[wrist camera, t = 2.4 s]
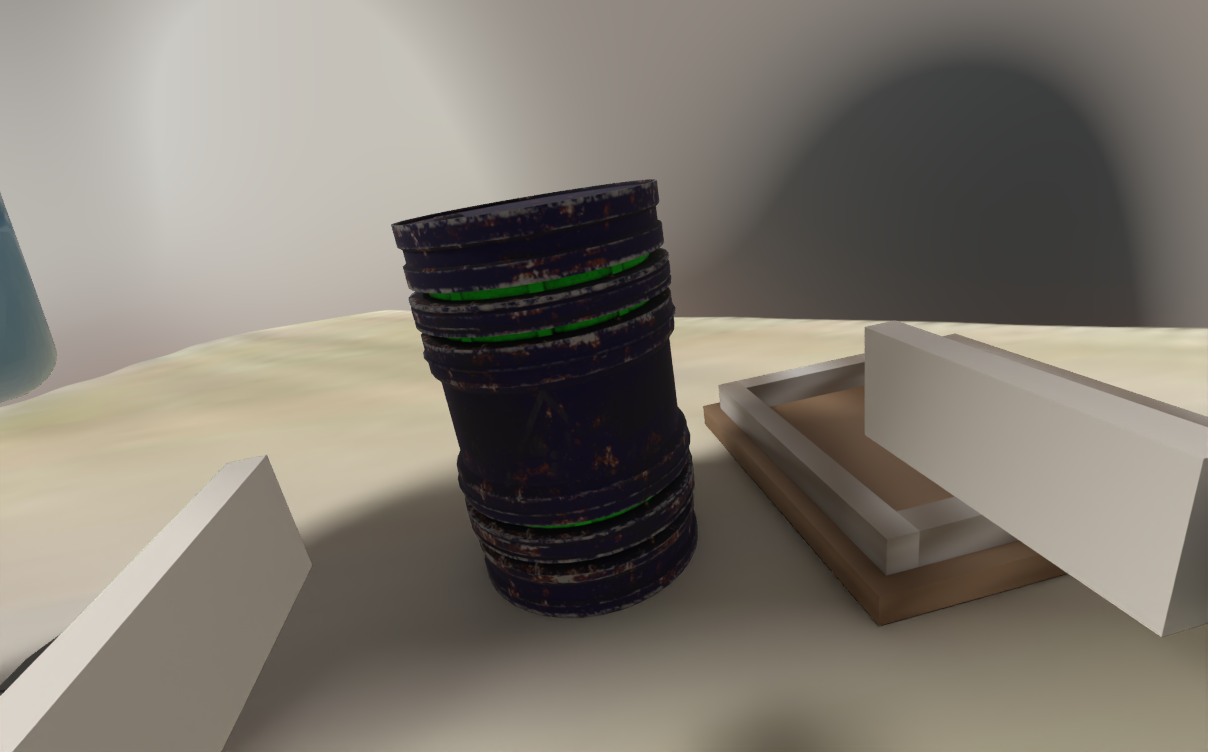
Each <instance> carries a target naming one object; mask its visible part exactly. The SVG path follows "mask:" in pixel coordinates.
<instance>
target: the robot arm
mask: <svg viewBox="0 0 1208 752" xmlns="http://www.w3.org/2000/svg"><path fill="white" fill-rule="evenodd" d="M56 358H57V352H56V348H55V344H54V341H53V338H52V335H51V333H50V330H49V327H48V324H47V321H46V319H45V316H44V313H43V310H42V307H41V304H40V302H39V299H38V296H37V293H36V290H35V288H34V285H33V282H32V279H31V276H30V274H29V271H28V268H27V265H26V263H25V260H24V257H23V254H22V251H21V249H20V246H19V243H18V240H17V237H16V235H15V232H14V229H13V227H12V224H11V221H10V219H9V216H8V213H7V210H6V208H5V205H4V202H3V199H2V196H1V193H0V403H2V402H5V401H8V400H11V399H15V398H18V397H21V396H23V395H26V394H28V393H29V392H30V391H32V390H34V389H35V388H37V387H38V386H39V385H41V384H42V382H44V381H45V380H46V379H47V378H48V377H49V375H50V374H51V372H52V371H53V368H54V367H55V364H56ZM865 435H866V436H867V437H869V438H870V439H872V440H873V441H874V442H876V443H877V444H879V445H880V446H882V447H883V448H885V449H886V450H888V451H889V452H891V453H892V454H894V455H895V456H896V457H898V458H899V459H901V460H902V461H904V462H905V463H907V464H908V465H910V466H911V467H913V468H914V469H916V470H917V471H918V472H920V473H921V474H923V475H924V476H926V477H927V478H929V479H930V480H932V481H933V482H935V483H936V484H938V485H939V486H940V487H942V488H943V489H945V490H946V491H948V492H949V493H951V494H952V495H954V496H955V497H957V498H958V499H959V500H961V501H962V502H964V503H965V504H967V505H968V506H970V507H971V508H973V509H974V510H976V511H977V512H979V513H980V514H981V515H983V516H984V517H986V518H987V519H989V520H990V521H992V522H993V523H995V524H996V525H998V526H999V527H1001V528H1002V529H1003V530H1005V531H1006V532H1008V533H1009V534H1011V535H1012V536H1014V537H1015V538H1017V539H1018V540H1020V541H1021V542H1023V543H1024V544H1025V545H1027V546H1028V547H1030V548H1031V549H1033V550H1034V551H1036V552H1037V553H1039V554H1040V555H1042V556H1043V557H1044V558H1046V559H1047V560H1049V561H1050V562H1052V563H1053V564H1055V565H1056V566H1058V567H1059V568H1061V569H1062V570H1064V571H1065V572H1066V573H1068V574H1069V575H1071V576H1072V577H1074V578H1075V579H1077V580H1078V581H1080V582H1081V583H1083V584H1084V585H1086V586H1087V587H1088V588H1090V589H1091V590H1093V591H1094V592H1096V593H1097V594H1099V595H1100V596H1102V597H1103V598H1105V599H1106V600H1108V601H1109V602H1110V603H1112V604H1113V605H1115V606H1116V607H1118V608H1119V609H1121V610H1122V611H1124V612H1125V613H1127V614H1128V615H1130V616H1131V617H1132V618H1134V619H1135V620H1137V621H1138V622H1140V623H1141V624H1143V625H1144V626H1146V627H1147V628H1149V629H1150V630H1151V631H1153V632H1154V633H1156V634H1157V635H1159V636H1160V637H1164V636H1167V635H1171V634H1174V633H1177V632H1181V631H1184V630H1187V629H1191V628H1194V627H1197V626H1201V625H1204V624H1207V623H1208V427H1205V426H1202V425H1199V424H1197V423H1194V422H1191V421H1188V420H1185V419H1182V418H1179V417H1176V416H1173V415H1170V414H1167V413H1164V412H1161V411H1159V410H1156V409H1153V408H1150V407H1147V406H1144V405H1141V404H1138V403H1135V402H1132V401H1129V400H1126V399H1123V398H1120V397H1118V396H1115V395H1112V394H1109V393H1106V392H1103V391H1100V390H1097V389H1094V388H1091V387H1088V386H1085V385H1082V384H1080V383H1077V382H1074V381H1071V380H1068V379H1065V378H1062V377H1059V376H1056V375H1053V374H1050V373H1047V372H1044V371H1042V370H1039V369H1036V368H1033V367H1030V366H1027V365H1024V364H1021V363H1018V362H1015V361H1012V360H1009V359H1006V358H1004V357H1001V356H998V355H995V354H992V353H989V352H986V351H983V350H980V349H977V348H974V347H971V346H968V345H965V344H963V343H960V342H957V341H954V340H951V339H948V338H945V337H942V336H939V335H936V334H933V333H930V332H927V331H925V330H922V329H919V328H916V327H913V326H910V325H907V324H904V323H901V322H898V321H891V322H886V323H882V324H877V325H872V326H868V327H865ZM311 567H312V563H311V561H310V559H309V556H308V554H307V551H306V549H305V546H304V544H303V542H302V539H301V537H300V534H299V532H298V529H297V527H296V524H295V522H294V520H293V517H292V515H291V512H290V510H289V507H288V505H287V503H286V500H285V498H284V495H283V493H282V490H281V488H280V486H279V483H278V481H277V478H276V476H275V473H274V471H273V469H272V466H271V464H270V461H269V459H268V456H267V455H263V456H258V457H254V458H249V459H244V460H240V461H235V462H230V463H227V464H226V465H225V466H224V467H223V468H222V469H221V470H220V471H219V472H218V473H217V474H216V475H215V476H214V477H213V478H212V479H211V480H210V481H209V482H208V483H207V484H206V485H205V486H204V487H203V488H202V489H201V490H200V492H199V493H198V494H197V495H196V496H195V497H194V498H193V499H192V500H191V501H190V502H189V503H188V504H187V505H186V506H185V507H184V508H183V509H182V510H181V511H180V512H179V513H178V514H177V515H176V516H175V517H174V518H173V519H172V520H171V521H170V522H169V523H168V524H167V525H166V526H165V527H164V529H163V530H162V531H161V532H160V533H159V534H158V535H157V536H156V537H155V538H154V539H153V540H152V541H151V542H150V543H149V544H148V545H147V546H146V547H145V548H144V549H143V550H142V551H141V552H140V553H139V554H138V555H137V556H136V557H135V558H134V559H133V560H132V561H131V562H130V563H129V564H128V566H127V567H126V568H125V569H124V570H123V571H122V572H121V573H120V574H119V575H118V576H117V577H116V578H115V579H114V580H113V581H112V582H111V583H110V584H109V585H108V586H107V587H106V588H105V589H104V590H103V591H102V592H101V593H100V594H99V595H98V596H97V597H96V598H95V599H94V600H93V601H92V603H91V604H90V605H89V606H88V607H87V608H86V609H85V610H84V611H83V612H82V613H81V614H80V615H79V616H78V617H77V618H76V619H75V620H74V621H73V622H72V623H71V624H70V625H69V626H68V627H67V628H66V629H65V630H64V631H63V632H62V633H61V634H60V635H59V636H57V637H56V638H55V639H53V640H52V641H51V642H49V643H48V644H46V645H45V646H44V647H42V648H41V649H40V650H38V651H37V652H35V653H34V654H33V655H31V656H30V657H29V658H27V659H26V660H25V661H24V662H23V663H22V664H21V665H20V666H19V667H18V668H17V669H16V670H15V671H14V672H13V673H12V674H11V675H10V676H9V677H8V678H7V679H6V680H5V681H4V682H3V683H2V684H1V685H0V752H222V750H223V748H224V746H225V743H226V741H227V739H228V737H229V735H230V733H231V731H232V729H233V727H234V725H235V723H236V721H237V719H238V717H239V715H240V713H241V711H242V709H243V707H244V705H245V702H246V700H247V698H248V696H249V694H250V692H251V690H252V688H253V686H254V684H255V682H256V680H257V678H258V676H259V674H260V672H261V670H262V668H263V666H264V664H265V661H266V659H267V657H268V655H269V653H270V651H271V649H272V647H273V645H274V643H275V641H276V639H277V637H278V635H279V633H280V631H281V629H282V627H283V625H284V623H285V620H286V618H287V616H288V614H289V612H290V610H291V608H292V606H293V604H294V602H295V600H296V598H297V596H298V594H299V592H300V590H301V588H302V586H303V584H304V581H305V579H306V577H307V575H308V573H309V571H310V569H311Z"/></svg>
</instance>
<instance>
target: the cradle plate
mask: <svg viewBox="0 0 1208 752" xmlns="http://www.w3.org/2000/svg"><path fill="white" fill-rule="evenodd" d="M942 337H945V338H948V339H951V340H954V341H957V342H960V343H963V344H965V345H968V346H971V347H974V348H977V349H980V350H983V351H986V352H989V353H992V354H995V355H998V356H1001V357H1004V358H1006V359H1009V360H1012V361H1015V362H1018V363H1021V364H1024V365H1027V366H1030V367H1033V368H1036V369H1039V370H1042V371H1044V372H1047V373H1050V374H1053V375H1056V376H1059V377H1062V378H1065V379H1068V380H1071V381H1074V382H1077V383H1080V384H1082V385H1085V386H1088V387H1091V388H1094V389H1097V390H1100V391H1103V392H1106V393H1109V394H1112V395H1115V396H1118V397H1120V398H1123V399H1126V400H1129V401H1132V402H1135V403H1138V404H1141V405H1144V406H1147V407H1150V408H1153V409H1156V410H1159V411H1161V412H1164V413H1167V414H1170V415H1173V416H1176V417H1179V418H1182V419H1185V420H1188V421H1191V422H1194V423H1197V424H1199V425H1202V426H1205V427H1208V417H1206V416H1203V415H1200V414H1197V413H1194V412H1191V411H1188V410H1185V409H1182V408H1179V407H1176V406H1173V405H1170V404H1167V403H1164V402H1161V401H1158V400H1155V399H1152V398H1149V397H1146V396H1143V395H1139V394H1136V393H1133V392H1130V391H1127V390H1124V389H1121V388H1118V387H1115V386H1112V385H1109V384H1106V383H1103V382H1100V381H1097V380H1094V379H1091V378H1088V377H1085V376H1082V375H1079V374H1076V373H1073V372H1070V371H1067V370H1064V369H1061V368H1058V367H1055V366H1052V365H1049V364H1045V363H1042V362H1039V361H1036V360H1033V359H1030V358H1027V357H1024V356H1021V355H1018V354H1015V353H1012V352H1009V351H1006V350H1003V349H1000V348H997V347H994V346H991V345H988V344H985V343H982V342H979V341H976V340H973V339H970V338H967V337H964V336H961V335H958V334H951V335H947V336H942ZM719 396H720V403H715V404H711V405H706V406H703V408H704V418H705V424H706V426H707V427H708V428H709V429H710V430H711V431H712V432H713V434H714V435H715V436H716V437H717V438H718V439H719V441H720V442H721V443H722V444H723V445H724V446H725V448H726V449H727V450H728V451H729V452H730V453H731V455H732V456H733V457H734V458H735V459H736V460H737V462H738V463H739V464H740V465H741V466H742V467H743V468H744V470H745V471H746V472H747V473H748V474H749V475H750V477H751V478H752V479H753V480H754V481H755V482H756V484H757V485H758V486H759V487H760V488H761V489H762V491H763V492H764V493H765V494H766V495H767V496H768V498H769V499H770V500H771V501H772V502H773V503H774V504H775V506H776V507H777V508H778V509H779V510H780V511H781V513H782V514H783V515H784V516H785V517H786V518H787V520H788V521H789V522H790V523H791V524H792V525H793V527H794V528H795V529H796V530H797V531H798V532H799V534H800V535H801V536H802V537H803V538H804V539H805V540H806V542H807V543H808V544H809V545H810V546H811V547H812V549H813V550H814V551H815V552H816V553H817V554H818V556H819V557H820V558H821V559H822V560H823V561H824V563H825V564H826V565H827V566H828V567H829V568H830V570H831V571H832V572H833V573H834V574H835V575H836V576H837V578H838V579H839V580H840V581H841V582H842V583H843V585H844V586H845V587H846V588H847V589H848V590H849V592H850V593H851V594H852V595H853V596H854V597H855V599H856V600H857V601H858V602H859V603H860V604H861V606H862V607H863V608H864V609H865V610H866V611H867V612H868V614H869V615H870V616H871V617H872V618H873V619H874V621H875V622H876V623H877V624H878V625H879V626H880V625H884V624H887V623H891V622H895V621H898V620H902V619H905V618H909V617H913V616H916V615H920V614H923V613H927V612H931V611H934V610H938V609H941V608H945V607H949V606H952V605H956V604H959V603H963V602H967V601H970V600H974V599H977V598H981V597H985V596H988V595H992V594H995V593H999V592H1003V591H1006V590H1010V589H1013V588H1017V587H1021V586H1024V585H1028V584H1031V583H1035V582H1039V581H1042V580H1046V579H1049V578H1053V577H1057V576H1060V575H1064V574H1067V573H1066V572H1065V571H1064V570H1062V569H1061V568H1059V567H1058V566H1056V565H1055V564H1053V563H1052V562H1050V561H1049V560H1047V559H1046V558H1044V557H1043V556H1042V555H1040V554H1039V553H1037V552H1036V551H1034V550H1033V549H1031V548H1030V547H1028V546H1027V545H1025V544H1024V543H1023V542H1021V541H1020V540H1018V539H1017V538H1015V537H1014V536H1012V535H1011V534H1009V533H1008V532H1006V531H1005V530H1003V529H1002V528H1001V527H999V526H998V525H996V524H995V523H993V522H992V521H990V520H989V519H987V518H986V517H984V516H983V515H981V514H980V513H979V512H977V511H976V510H974V509H973V508H971V507H970V506H968V505H967V504H965V503H964V502H962V501H961V500H959V499H958V498H957V497H955V496H954V495H952V494H951V493H949V492H948V491H946V490H945V489H943V488H942V487H940V486H939V485H938V484H936V483H935V482H933V481H932V480H930V479H929V478H927V477H926V476H924V475H923V474H921V473H920V472H918V471H917V470H916V469H914V468H913V467H911V466H910V465H908V464H907V463H905V462H904V461H902V460H901V459H899V458H898V457H896V456H895V455H894V454H892V453H891V452H889V451H888V450H886V449H885V448H883V447H882V446H880V445H879V444H877V443H876V442H874V441H873V440H872V439H870V438H869V437H867V436H866V435H865V353H864V354H859V355H855V356H850V357H846V358H841V359H836V360H832V361H827V362H823V363H818V364H813V365H809V366H804V367H800V368H795V369H790V370H786V371H781V372H777V373H772V374H767V375H763V376H758V377H754V378H749V379H744V380H740V381H735V382H731V383H726V384H721V385H719Z"/></svg>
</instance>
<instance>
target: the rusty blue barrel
mask: <svg viewBox="0 0 1208 752" xmlns="http://www.w3.org/2000/svg"><path fill="white" fill-rule="evenodd" d="M658 203H659V195H658V187H657V180H655V179H653V180H652V179H649V180H638V181H629V182H621V183H613V184H606V185H599V186H592V187H585V188H578V189H572V190H566V191H559V192H553V193H547V194H541V195H534V196H528V197H523V198H517V199H511V200H505V201H500V202H494V203H489V204H483V205H477V206H472V207H467V208H461V209H457V210H451V211H446V212H441V213H436V214H431V215H426V216H422V217H418V218H413V219H409V220H405V221H401V222H397V223H394V224H392V225H391V226H392V230H393V233H394V237H395V241H396V244H397V247H398V248H399V249H401V250H403V253H404V257H405V261H406V264H405V265H404V266H403V269H404V273H405V276H406V280H407V284H408V287H409V289H411V290H413V291H415V292H414V293H413V294H411V296H410V297H409V303H410V305H411V310H412V314H413V317H414V320H415V324H416V328H417V329H418V330H419V331H420V332H422V334H421V337H422V341H423V345H424V348H425V350H424V352H423V354H424V358H425V360H426V361H427V362H428V363H429V366H430V370H431V373H432V374H433V375H434V377H435V378H437V379H438V380H439V381H441V382H442V385H443V389H444V392H445V396H446V400H447V403H448V407H449V410H450V414H451V418H452V421H453V425H454V429H455V432H456V436H457V440H458V443H459V447H460V453H459V455H458V459H457V468H458V472H459V475H458V481H459V485H460V488H461V490H462V491H463V493H464V494H465V501H466V505H467V510H468V513H469V517H470V520H471V523H472V527H473V530H474V532H475V533H476V535H477V537H478V538H479V541H480V545H481V548H482V550H483V551H484V553H485V561H486V566H487V570H488V573H489V577H490V580H491V582H492V583H493V585H494V587H495V589H496V590H497V591H498V592H499V593H500V594H501V595H502V596H503V598H505V599H506V600H508V601H509V602H511V603H512V604H513V605H515V606H517V607H519V608H522V609H524V610H526V611H529V612H532V613H536V614H540V615H544V616H552V617H562V618H573V617H588V616H595V615H602V614H606V613H610V612H614V611H618V610H621V609H624V608H627V607H629V606H632V605H634V604H637V603H639V602H641V601H643V600H645V599H647V598H649V597H651V596H653V595H654V594H656V593H658V592H659V591H660V590H662V589H663V588H665V587H666V586H667V585H669V584H670V583H671V582H672V581H673V580H674V579H675V578H676V577H677V576H678V575H679V574H680V573H682V571H683V570H684V568H685V567H686V566H687V564H688V563H689V562H690V560H691V558H692V556H693V553H694V551H695V549H696V544H697V539H698V532H697V520H696V516H695V512H694V509H693V508H694V495H693V490H694V472H693V463H692V455H691V453H690V450H689V444H690V432H689V430H688V427H687V422H686V419H685V416H684V414H683V412H682V411H681V410H680V409H679V407H678V406H677V398H676V390H675V381H674V373H673V365H672V357H671V348H670V340H669V337H670V335H671V334H672V332H673V330H674V316H673V315H674V314H675V306H674V305H673V303H672V298H671V291H670V289H669V288H668V286H669V285H670V284H671V275H670V264H669V260H668V252H667V251H666V250H665V249H662V248H660V247H661V246H662V245H663V243H664V238H663V231H662V222H661V221H660V220H658V219H657V212H656V205H657V204H658Z"/></svg>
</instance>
